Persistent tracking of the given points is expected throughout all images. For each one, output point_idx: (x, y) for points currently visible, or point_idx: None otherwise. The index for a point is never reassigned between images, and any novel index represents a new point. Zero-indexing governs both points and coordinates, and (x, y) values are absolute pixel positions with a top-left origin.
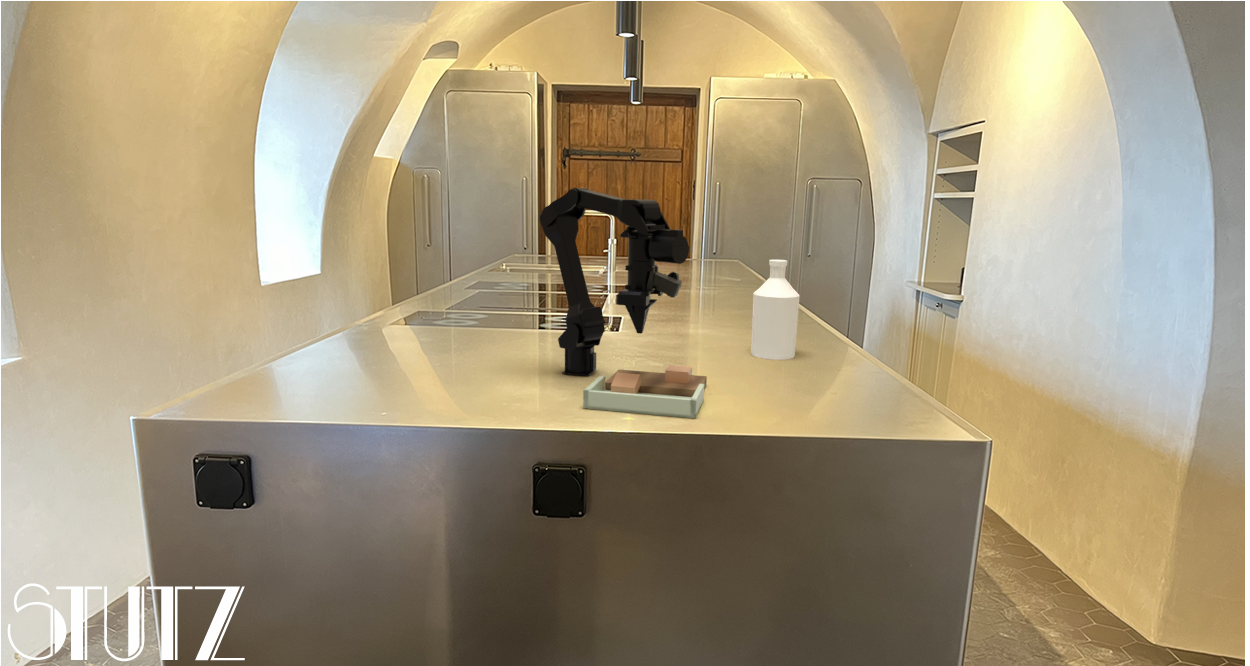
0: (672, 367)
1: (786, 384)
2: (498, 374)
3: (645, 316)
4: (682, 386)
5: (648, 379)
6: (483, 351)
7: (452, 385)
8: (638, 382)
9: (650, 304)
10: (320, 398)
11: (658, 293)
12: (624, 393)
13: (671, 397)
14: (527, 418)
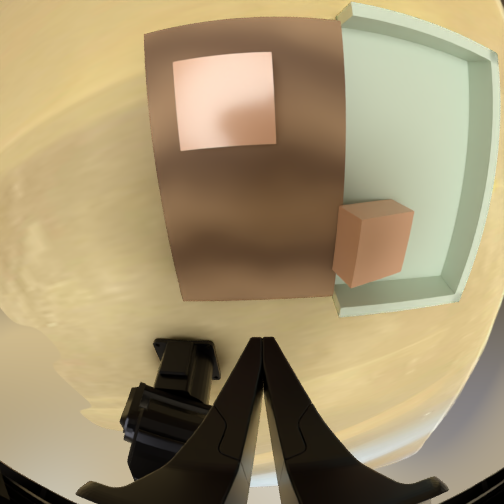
0: (213, 128)
1: None
2: (259, 423)
3: (280, 419)
4: (314, 72)
5: (261, 197)
6: None
7: None
8: (373, 211)
9: (444, 488)
10: (381, 449)
11: (2, 490)
12: (480, 221)
13: (495, 107)
14: (471, 324)
